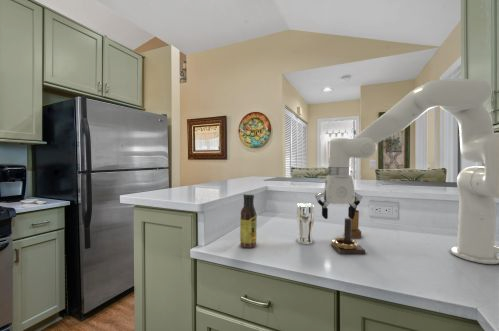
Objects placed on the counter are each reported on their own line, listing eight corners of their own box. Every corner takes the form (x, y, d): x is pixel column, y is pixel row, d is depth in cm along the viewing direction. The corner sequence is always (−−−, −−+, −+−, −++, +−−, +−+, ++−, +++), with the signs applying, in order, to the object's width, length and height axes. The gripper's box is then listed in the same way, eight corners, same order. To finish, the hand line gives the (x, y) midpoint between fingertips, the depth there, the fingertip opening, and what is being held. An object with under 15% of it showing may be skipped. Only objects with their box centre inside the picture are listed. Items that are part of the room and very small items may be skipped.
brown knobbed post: (364, 238, 104) (365, 196, 103) (348, 238, 104) (349, 196, 103) (357, 233, 110) (358, 193, 109) (342, 233, 110) (344, 193, 110)
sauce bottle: (254, 249, 91) (255, 196, 90) (238, 247, 92) (238, 195, 91) (257, 243, 98) (258, 193, 97) (242, 241, 99) (242, 192, 98)
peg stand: (353, 244, 96) (354, 215, 96) (365, 254, 88) (366, 222, 87) (331, 244, 96) (331, 215, 96) (340, 254, 87) (341, 222, 87)
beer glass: (293, 242, 98) (294, 205, 97) (298, 237, 104) (299, 202, 103) (311, 246, 95) (312, 207, 94) (315, 240, 101) (316, 204, 100)
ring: (351, 240, 97) (351, 236, 96) (363, 250, 87) (363, 245, 87) (328, 240, 96) (328, 236, 96) (337, 250, 87) (337, 245, 87)
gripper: (319, 172, 86) (318, 220, 87) (367, 173, 87) (366, 220, 88) (313, 171, 94) (312, 215, 95) (357, 171, 94) (356, 215, 95)
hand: (338, 218), depth 91 cm, fingers open, 9 cm apart
